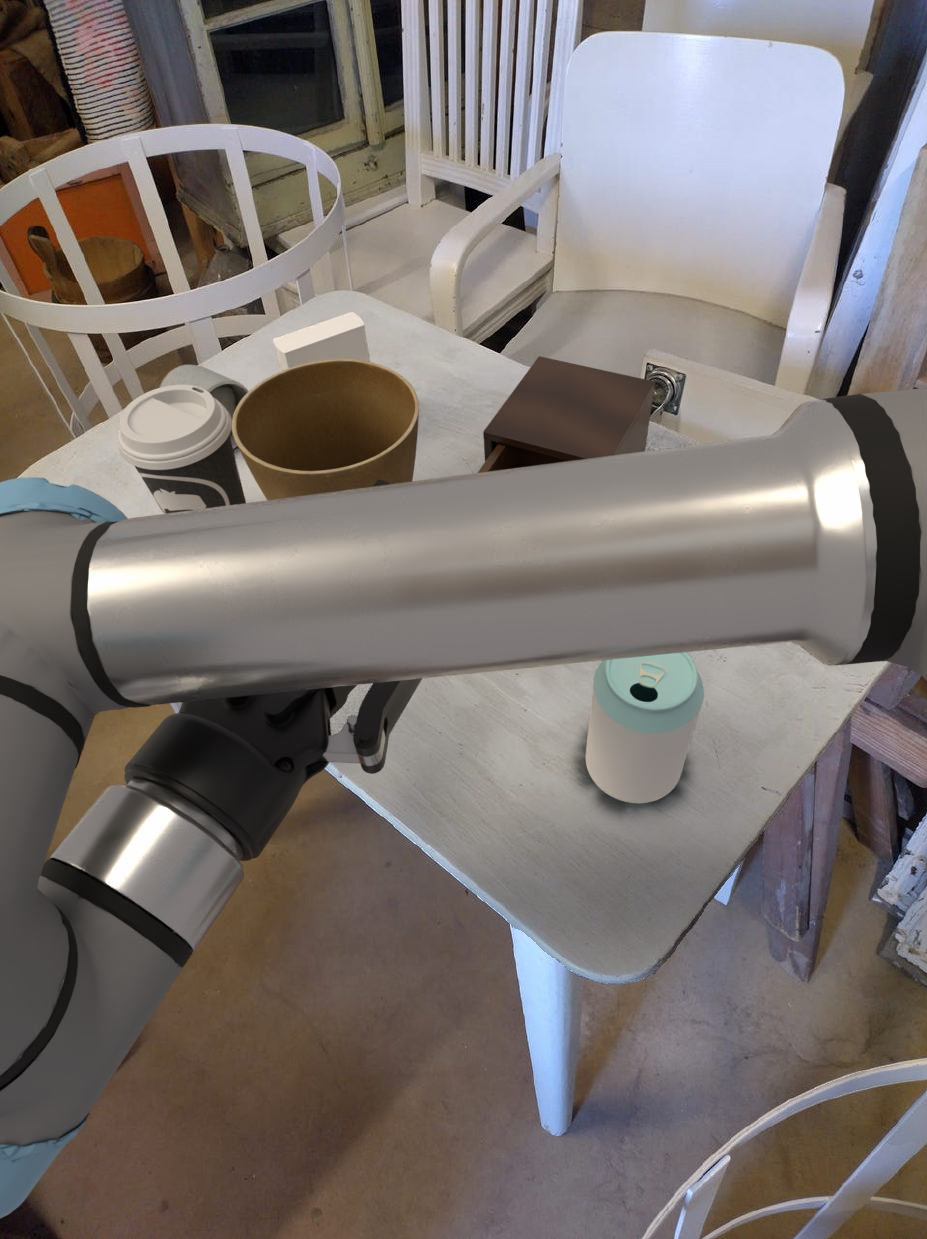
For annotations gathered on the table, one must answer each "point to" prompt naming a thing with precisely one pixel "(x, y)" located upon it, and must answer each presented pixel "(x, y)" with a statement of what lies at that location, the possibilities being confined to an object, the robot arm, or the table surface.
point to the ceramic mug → (209, 386)
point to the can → (642, 724)
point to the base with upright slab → (324, 342)
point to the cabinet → (573, 412)
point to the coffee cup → (181, 448)
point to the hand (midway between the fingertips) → (419, 507)
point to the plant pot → (328, 428)
